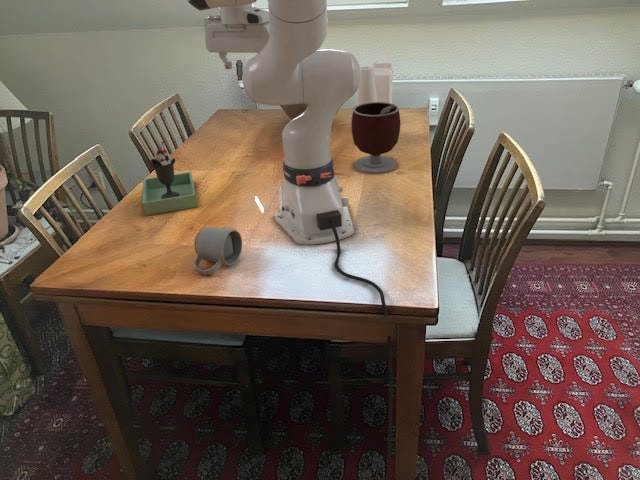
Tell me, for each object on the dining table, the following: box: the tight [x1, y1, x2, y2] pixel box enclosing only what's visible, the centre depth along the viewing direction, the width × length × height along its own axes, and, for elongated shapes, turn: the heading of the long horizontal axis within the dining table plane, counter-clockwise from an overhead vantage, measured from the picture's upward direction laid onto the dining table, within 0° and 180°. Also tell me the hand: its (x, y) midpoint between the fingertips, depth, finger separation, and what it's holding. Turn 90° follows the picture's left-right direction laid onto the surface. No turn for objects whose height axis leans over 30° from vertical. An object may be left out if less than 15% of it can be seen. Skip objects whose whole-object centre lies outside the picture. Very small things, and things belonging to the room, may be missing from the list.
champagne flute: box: [355, 65, 377, 106], centre depth 167 cm, size 7×7×24 cm
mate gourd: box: [351, 102, 401, 175], centre depth 151 cm, size 16×14×20 cm
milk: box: [372, 62, 393, 104], centre depth 180 cm, size 6×6×22 cm
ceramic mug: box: [194, 226, 243, 276], centre depth 113 cm, size 11×8×8 cm
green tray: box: [141, 171, 198, 216], centre depth 144 cm, size 16×13×4 cm
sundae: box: [149, 141, 179, 199], centre depth 141 cm, size 7×7×15 cm
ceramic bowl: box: [279, 98, 308, 121], centre depth 195 cm, size 22×23×10 cm
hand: (244, 69), depth 146 cm, fingers open, 8 cm apart
